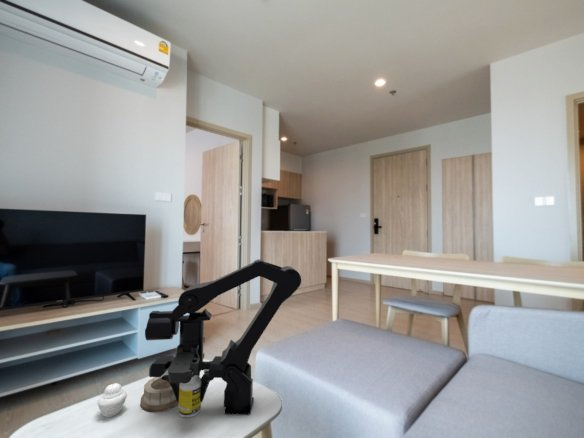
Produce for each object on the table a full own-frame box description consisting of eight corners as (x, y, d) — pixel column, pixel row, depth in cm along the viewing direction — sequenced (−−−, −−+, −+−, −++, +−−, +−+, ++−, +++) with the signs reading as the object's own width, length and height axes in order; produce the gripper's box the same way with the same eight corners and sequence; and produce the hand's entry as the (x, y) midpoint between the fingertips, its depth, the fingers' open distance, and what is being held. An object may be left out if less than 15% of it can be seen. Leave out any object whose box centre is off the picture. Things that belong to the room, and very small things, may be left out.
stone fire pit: (191, 387, 80) (192, 372, 80) (175, 412, 69) (175, 395, 69) (153, 387, 80) (154, 372, 80) (131, 411, 69) (131, 394, 69)
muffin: (93, 414, 68) (94, 384, 68) (121, 402, 73) (122, 375, 73) (101, 425, 64) (102, 394, 64) (130, 412, 69) (131, 383, 69)
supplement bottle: (193, 420, 66) (194, 378, 66) (173, 416, 67) (174, 375, 67) (205, 406, 71) (206, 367, 71) (187, 402, 72) (188, 364, 73)
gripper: (136, 351, 62) (134, 422, 61) (219, 351, 62) (218, 423, 61) (160, 332, 73) (159, 393, 72) (231, 333, 73) (230, 394, 72)
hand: (190, 400), depth 69 cm, fingers closed on supplement bottle, 5 cm apart
